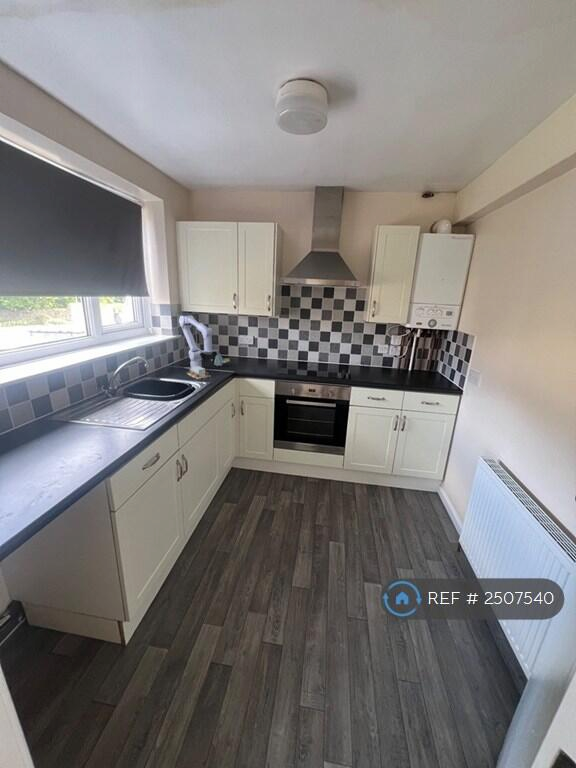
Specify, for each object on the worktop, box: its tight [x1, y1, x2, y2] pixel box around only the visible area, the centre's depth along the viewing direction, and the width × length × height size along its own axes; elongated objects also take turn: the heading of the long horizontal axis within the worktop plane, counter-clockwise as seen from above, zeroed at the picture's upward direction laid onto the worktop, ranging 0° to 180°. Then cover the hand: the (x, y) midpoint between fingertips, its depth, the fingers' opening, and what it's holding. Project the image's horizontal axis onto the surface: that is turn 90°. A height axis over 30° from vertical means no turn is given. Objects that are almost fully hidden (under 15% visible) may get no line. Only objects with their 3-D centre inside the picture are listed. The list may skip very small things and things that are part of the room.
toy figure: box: [210, 352, 230, 367], centre depth 255 cm, size 17×10×15 cm, turn 62°
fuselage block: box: [192, 366, 206, 376], centre depth 224 cm, size 11×5×5 cm, turn 40°
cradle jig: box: [186, 369, 212, 380], centre depth 225 cm, size 18×11×3 cm, turn 40°
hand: (208, 362), depth 229 cm, fingers open, 7 cm apart
